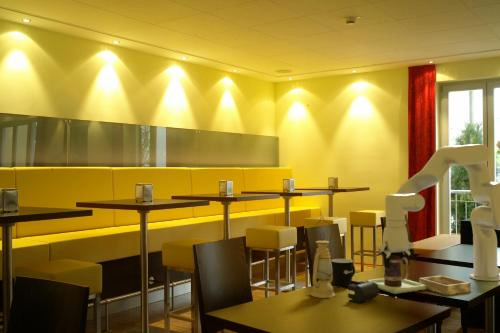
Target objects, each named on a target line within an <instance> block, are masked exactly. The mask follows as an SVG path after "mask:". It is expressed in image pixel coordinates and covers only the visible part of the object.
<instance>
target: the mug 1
mask: <svg viewBox="0 0 500 333" xmlns="http://www.w3.org/2000/svg"><path fill="white" fill-rule="evenodd" d="M331 264H332V269H333V273H332V274H333V279H332V282H333V284H334V285H335V287H336V286H337V287H348V285H350V284H352V280H353V277H354V275H355V273H356V268H355V265H354V261H353V260H352V259H348V258H334V259H331Z"/></svg>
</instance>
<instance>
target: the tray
mask: <svg viewBox="0 0 500 333" xmlns="http://www.w3.org/2000/svg"><path fill="white" fill-rule="evenodd" d="M371 281H373V282H375V283H376V284H377V285H378V287H379V290H382V291H384V292H388V293H390V294H393V295H397V294H403V293H405V294H406V293H412V292H413V291H414V292H419V291H418V290H422V291H427V290H428V289H427V285H424V284H421V283H419V282H418V281H415V280H414V281H413V280H411V279H408V278H406V279H402V280H401V281H402V285H401V286H399V287H390V286H386V285H385V284H384V277H383V278H382V277H381V278H375V279H366V281H365V282H371Z"/></svg>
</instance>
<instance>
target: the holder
mask: <svg viewBox="0 0 500 333" xmlns="http://www.w3.org/2000/svg"><path fill="white" fill-rule="evenodd" d="M418 283H421V284H424V285H427V290H428V289H429V291H432V292H435V291H436V292H435V293H438V292H439V294H442V295H445V294H446V296H449V295H448V294H450V295H456V293H458V294H464V293H471V282H468V281H466V280H461V279H457V278H453V277H449V276H445V275H435V276H426V277H419V278H418Z"/></svg>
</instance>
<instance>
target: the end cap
mask: <svg viewBox="0 0 500 333" xmlns="http://www.w3.org/2000/svg"><path fill="white" fill-rule="evenodd" d="M347 290H348V291H351V292H354V294H352V293H350V292H349V293H347V298H348V302H349V303H352V304H356V303H357V304H356V305H359V304H362V303H366V302H369V301H372V300H374V299H376V298H377V297H378V296H379V294H380V289H379V287H378V285H377V284H376V283H375V282H373V281H371V282H366V281H358V282H357V284H356V283H351V284H350V285H348V286H347Z"/></svg>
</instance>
